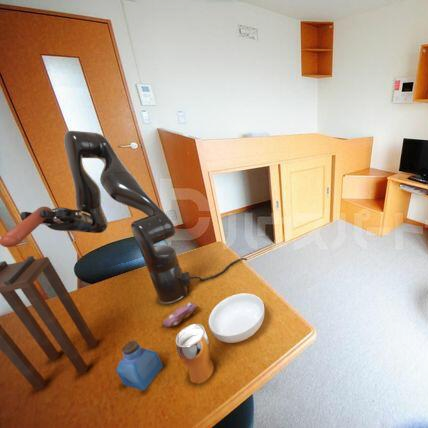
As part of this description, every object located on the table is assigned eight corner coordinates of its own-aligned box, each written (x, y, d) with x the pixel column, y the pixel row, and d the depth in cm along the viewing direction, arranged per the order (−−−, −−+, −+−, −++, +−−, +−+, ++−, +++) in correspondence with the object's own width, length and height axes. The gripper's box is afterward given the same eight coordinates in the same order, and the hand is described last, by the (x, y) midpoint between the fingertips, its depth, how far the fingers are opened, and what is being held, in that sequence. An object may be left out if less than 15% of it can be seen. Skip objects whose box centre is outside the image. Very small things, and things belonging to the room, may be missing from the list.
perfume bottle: (144, 390, 61) (128, 360, 56) (124, 385, 62) (107, 355, 57) (163, 366, 67) (150, 337, 61) (144, 362, 68) (130, 333, 63)
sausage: (42, 215, 71) (37, 206, 70) (56, 213, 72) (51, 204, 71) (0, 251, 54) (-8, 240, 53) (19, 247, 56) (11, 236, 54)
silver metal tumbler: (221, 368, 66) (211, 331, 60) (197, 391, 61) (184, 353, 55) (205, 355, 70) (195, 318, 63) (182, 375, 64) (168, 338, 58)
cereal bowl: (244, 300, 89) (242, 285, 86) (276, 322, 81) (275, 307, 78) (201, 332, 77) (197, 316, 74) (234, 362, 68) (230, 346, 65)
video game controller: (169, 334, 77) (170, 325, 73) (161, 324, 78) (161, 314, 74) (197, 313, 85) (199, 304, 81) (189, 304, 86) (191, 295, 82)
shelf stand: (97, 342, 73) (45, 253, 59) (86, 372, 65) (24, 277, 51) (53, 356, 69) (-14, 264, 54) (35, 390, 61) (-48, 292, 47)
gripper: (36, 213, 77) (-8, 205, 62) (92, 205, 83) (64, 196, 68) (40, 235, 77) (-3, 233, 62) (96, 226, 83) (69, 222, 68)
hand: (33, 214), depth 65 cm, fingers closed on sausage, 3 cm apart
